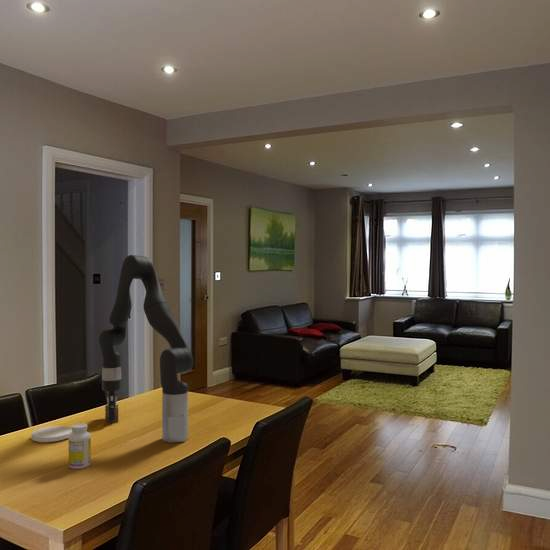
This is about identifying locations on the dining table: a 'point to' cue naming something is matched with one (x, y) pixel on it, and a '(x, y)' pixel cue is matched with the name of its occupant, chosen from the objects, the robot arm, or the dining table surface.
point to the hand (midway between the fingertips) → (111, 417)
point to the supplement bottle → (79, 447)
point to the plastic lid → (51, 434)
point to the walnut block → (108, 414)
